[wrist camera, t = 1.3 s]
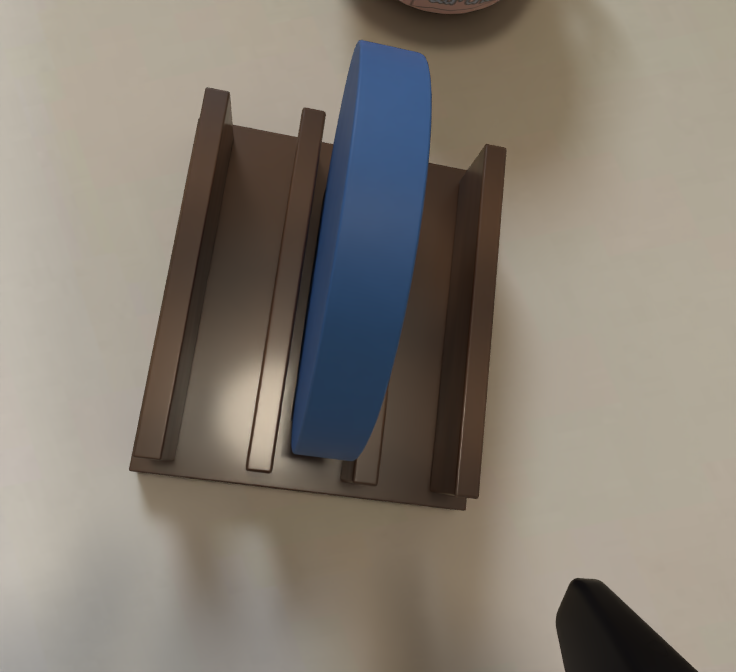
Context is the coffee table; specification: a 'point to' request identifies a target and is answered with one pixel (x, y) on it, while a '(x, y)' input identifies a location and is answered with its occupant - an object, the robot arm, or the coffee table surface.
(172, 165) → the coffee table surface
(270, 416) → the rack
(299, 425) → the disc
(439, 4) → the mug
